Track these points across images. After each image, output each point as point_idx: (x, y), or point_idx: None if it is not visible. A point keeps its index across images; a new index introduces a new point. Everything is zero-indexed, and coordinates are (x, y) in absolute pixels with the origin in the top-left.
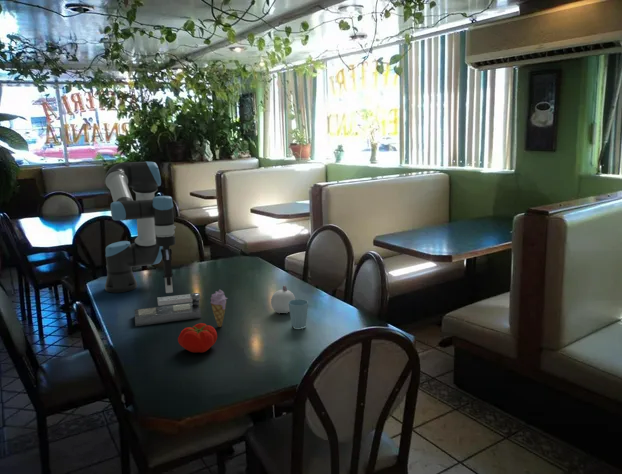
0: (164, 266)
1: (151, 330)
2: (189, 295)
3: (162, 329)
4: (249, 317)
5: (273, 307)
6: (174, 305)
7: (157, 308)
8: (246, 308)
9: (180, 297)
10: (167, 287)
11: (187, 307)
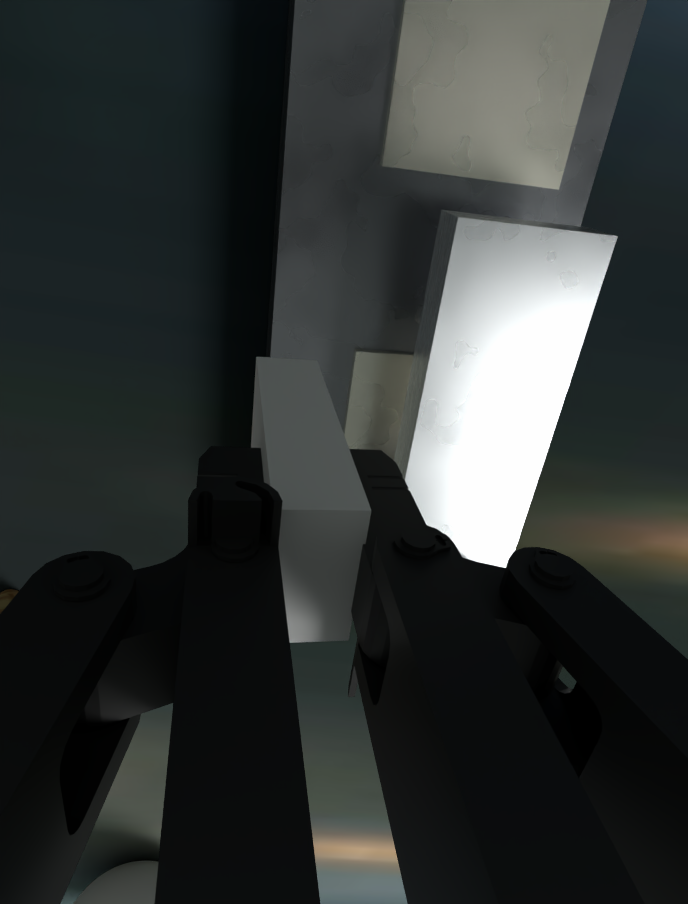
0: (254, 869)
1: (87, 39)
2: (471, 552)
3: (81, 166)
4: (133, 749)
5: (108, 892)
6: None
7: (536, 206)
8: (302, 750)
9: (460, 474)
10: (259, 426)
11: None
